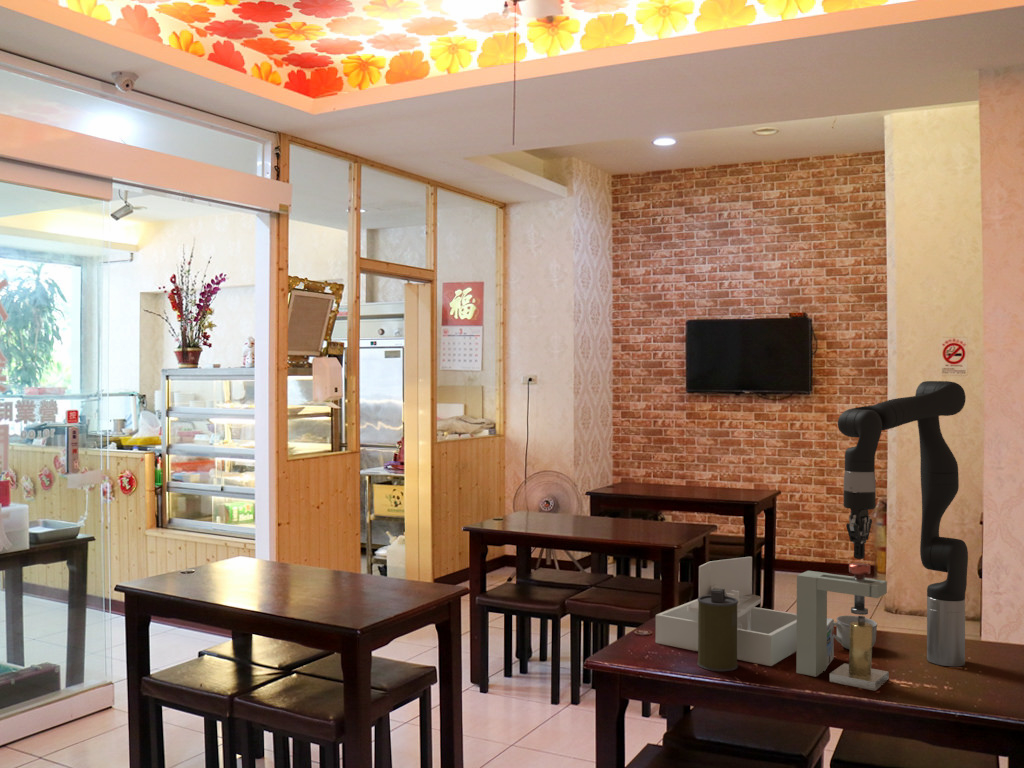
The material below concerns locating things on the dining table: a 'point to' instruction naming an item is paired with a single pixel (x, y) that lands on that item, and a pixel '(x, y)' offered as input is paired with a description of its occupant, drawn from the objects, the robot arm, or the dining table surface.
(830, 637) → the light bulb box
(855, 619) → the teacup
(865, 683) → the plate
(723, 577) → the upright panel with ledge
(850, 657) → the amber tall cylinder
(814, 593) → the press frame
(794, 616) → the box
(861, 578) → the ram
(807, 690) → the dining table surface
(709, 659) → the canister
